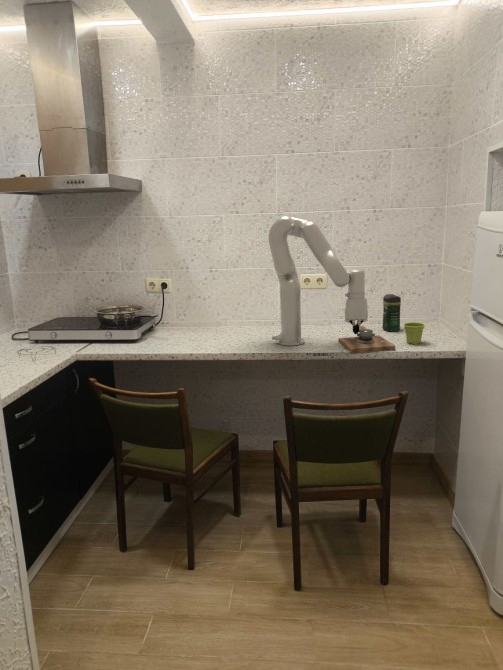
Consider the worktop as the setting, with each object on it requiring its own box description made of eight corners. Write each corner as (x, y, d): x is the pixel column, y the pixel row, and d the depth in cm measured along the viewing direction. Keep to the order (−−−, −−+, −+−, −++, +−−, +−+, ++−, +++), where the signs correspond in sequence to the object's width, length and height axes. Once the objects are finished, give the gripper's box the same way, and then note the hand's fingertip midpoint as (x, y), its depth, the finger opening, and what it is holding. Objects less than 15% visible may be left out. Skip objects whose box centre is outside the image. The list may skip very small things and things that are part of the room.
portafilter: (357, 340, 218) (358, 332, 218) (353, 332, 233) (353, 324, 233) (375, 340, 218) (375, 331, 217) (370, 332, 233) (370, 324, 232)
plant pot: (406, 345, 220) (407, 327, 217) (400, 340, 229) (401, 322, 227) (427, 344, 219) (427, 326, 217) (420, 339, 228) (421, 321, 226)
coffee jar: (402, 331, 246) (403, 295, 241) (386, 332, 245) (387, 296, 241) (395, 327, 255) (396, 292, 251) (380, 328, 255) (381, 293, 250)
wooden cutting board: (351, 353, 211) (351, 346, 211) (338, 342, 231) (338, 336, 230) (395, 350, 213) (395, 343, 212) (378, 339, 232) (378, 333, 232)
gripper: (341, 297, 222) (341, 336, 226) (374, 296, 222) (373, 334, 226) (339, 295, 229) (339, 332, 234) (370, 293, 229) (369, 331, 233)
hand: (356, 333), depth 230 cm, fingers closed
